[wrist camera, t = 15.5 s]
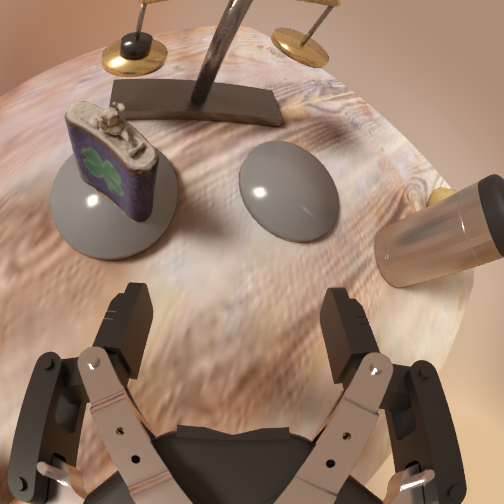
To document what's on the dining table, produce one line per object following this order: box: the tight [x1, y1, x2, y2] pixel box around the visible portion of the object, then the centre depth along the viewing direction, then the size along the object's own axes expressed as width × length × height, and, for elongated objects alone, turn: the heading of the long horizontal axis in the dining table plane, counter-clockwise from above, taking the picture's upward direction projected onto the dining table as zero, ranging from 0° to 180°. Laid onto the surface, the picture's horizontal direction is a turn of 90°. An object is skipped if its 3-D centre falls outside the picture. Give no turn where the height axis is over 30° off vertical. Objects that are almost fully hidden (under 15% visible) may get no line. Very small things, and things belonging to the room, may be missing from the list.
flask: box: [65, 101, 159, 222], centre depth 19 cm, size 9×3×11 cm, turn 58°
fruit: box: [428, 187, 457, 207], centre depth 42 cm, size 8×8×8 cm
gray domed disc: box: [239, 141, 339, 242], centre depth 32 cm, size 13×13×1 cm
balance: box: [102, 0, 341, 127], centre depth 22 cm, size 24×7×20 cm, turn 102°
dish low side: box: [50, 146, 178, 260], centre depth 24 cm, size 13×13×1 cm
